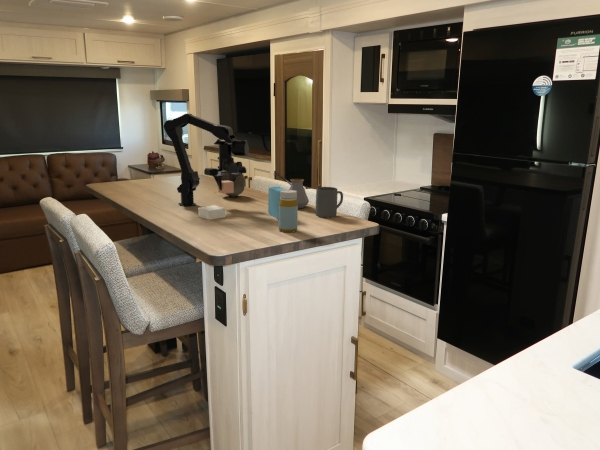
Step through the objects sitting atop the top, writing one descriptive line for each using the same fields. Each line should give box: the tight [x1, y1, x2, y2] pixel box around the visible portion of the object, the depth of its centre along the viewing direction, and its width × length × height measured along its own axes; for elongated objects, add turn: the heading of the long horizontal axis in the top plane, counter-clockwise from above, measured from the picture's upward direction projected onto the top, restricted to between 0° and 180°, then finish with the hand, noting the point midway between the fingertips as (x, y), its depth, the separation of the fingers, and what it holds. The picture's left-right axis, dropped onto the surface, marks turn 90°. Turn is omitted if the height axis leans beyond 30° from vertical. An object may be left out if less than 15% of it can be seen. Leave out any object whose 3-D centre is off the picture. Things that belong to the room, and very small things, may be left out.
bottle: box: [278, 189, 299, 233], centre depth 176 cm, size 7×7×15 cm
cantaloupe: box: [221, 172, 246, 198], centre depth 241 cm, size 14×14×15 cm
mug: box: [315, 186, 344, 219], centre depth 204 cm, size 14×9×12 cm
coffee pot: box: [273, 171, 310, 209], centre depth 223 cm, size 21×12×15 cm, turn 45°
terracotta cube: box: [217, 180, 234, 195], centre depth 214 cm, size 5×5×5 cm
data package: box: [267, 186, 287, 220], centre depth 200 cm, size 12×4×12 cm, turn 24°
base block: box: [197, 204, 226, 221], centre depth 197 cm, size 8×8×4 cm
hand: (226, 189), depth 214 cm, fingers closed on terracotta cube, 5 cm apart
